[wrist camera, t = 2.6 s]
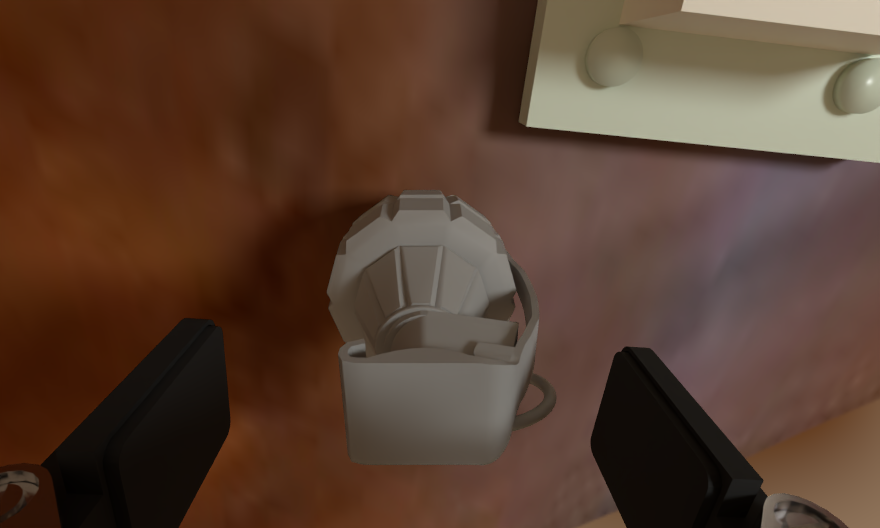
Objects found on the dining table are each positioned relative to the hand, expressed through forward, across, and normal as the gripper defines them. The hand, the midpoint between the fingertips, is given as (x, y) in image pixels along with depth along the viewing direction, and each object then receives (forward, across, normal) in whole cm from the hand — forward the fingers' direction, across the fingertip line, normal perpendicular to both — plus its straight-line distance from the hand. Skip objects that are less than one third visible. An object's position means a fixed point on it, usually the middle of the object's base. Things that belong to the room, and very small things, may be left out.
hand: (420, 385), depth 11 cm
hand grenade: (+10, 0, -1) cm, 10 cm away
